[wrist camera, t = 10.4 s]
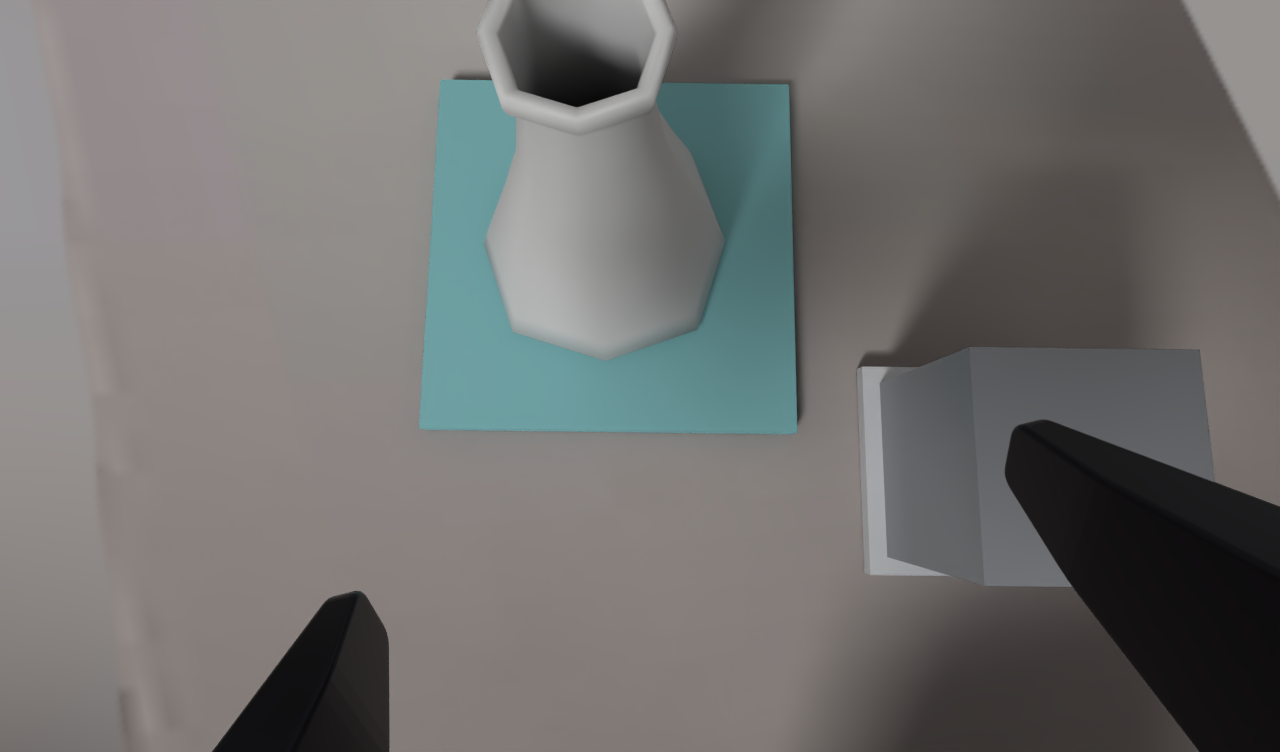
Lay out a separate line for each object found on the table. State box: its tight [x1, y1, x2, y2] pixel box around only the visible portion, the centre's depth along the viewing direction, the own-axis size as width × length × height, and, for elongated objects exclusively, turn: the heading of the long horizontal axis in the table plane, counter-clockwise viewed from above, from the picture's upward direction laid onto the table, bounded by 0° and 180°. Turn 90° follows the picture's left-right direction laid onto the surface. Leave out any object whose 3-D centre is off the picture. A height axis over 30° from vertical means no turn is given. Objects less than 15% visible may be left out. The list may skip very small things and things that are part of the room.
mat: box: [419, 80, 797, 434], centre depth 21 cm, size 11×11×1 cm
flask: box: [477, 0, 725, 361], centre depth 16 cm, size 7×7×10 cm
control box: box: [857, 347, 1215, 587], centre depth 17 cm, size 6×6×6 cm
